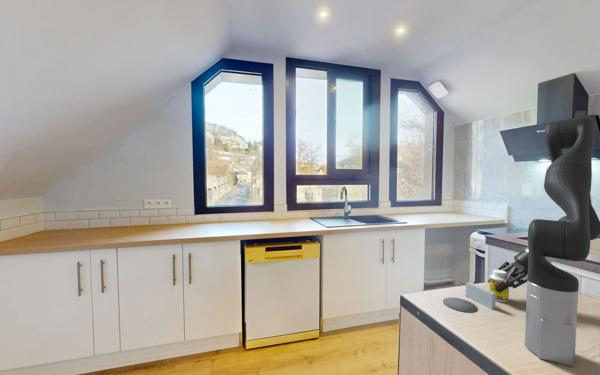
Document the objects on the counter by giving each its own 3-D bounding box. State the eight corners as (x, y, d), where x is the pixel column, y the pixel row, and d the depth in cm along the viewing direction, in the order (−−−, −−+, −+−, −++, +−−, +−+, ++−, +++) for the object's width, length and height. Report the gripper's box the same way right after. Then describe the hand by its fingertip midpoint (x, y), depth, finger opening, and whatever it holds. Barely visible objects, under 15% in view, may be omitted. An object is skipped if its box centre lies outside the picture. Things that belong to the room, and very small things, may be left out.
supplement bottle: (485, 296, 97) (486, 269, 97) (496, 294, 99) (497, 267, 99) (501, 303, 92) (502, 274, 92) (512, 301, 94) (513, 273, 93)
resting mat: (479, 315, 84) (479, 314, 84) (443, 307, 89) (443, 306, 88) (474, 302, 93) (474, 301, 93) (442, 296, 97) (442, 295, 97)
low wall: (495, 308, 88) (495, 293, 88) (491, 309, 88) (492, 294, 88) (468, 295, 98) (469, 282, 98) (465, 296, 98) (466, 282, 97)
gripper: (515, 244, 99) (478, 272, 103) (537, 255, 86) (492, 286, 90) (532, 260, 98) (493, 287, 102) (556, 273, 84) (510, 304, 88)
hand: (493, 286), depth 96 cm, fingers closed on supplement bottle, 5 cm apart
